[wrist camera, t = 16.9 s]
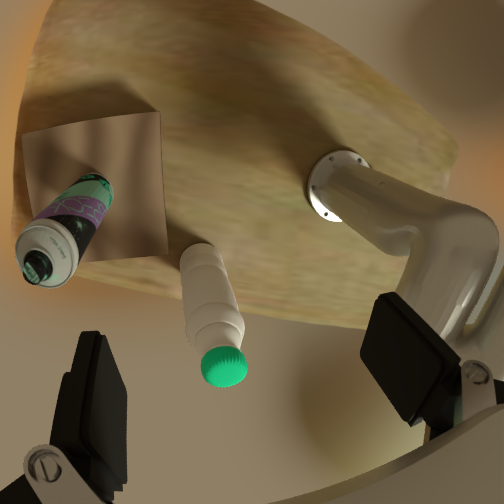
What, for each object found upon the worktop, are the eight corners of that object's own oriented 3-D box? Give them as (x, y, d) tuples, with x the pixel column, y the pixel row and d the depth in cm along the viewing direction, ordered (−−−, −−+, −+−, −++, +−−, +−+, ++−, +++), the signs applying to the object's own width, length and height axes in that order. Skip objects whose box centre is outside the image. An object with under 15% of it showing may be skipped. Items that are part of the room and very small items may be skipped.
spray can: (106, 220, 36) (61, 317, 19) (69, 206, 34) (-1, 292, 17) (120, 180, 34) (72, 253, 17) (81, 166, 32) (3, 226, 15)
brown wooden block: (162, 111, 39) (159, 111, 32) (169, 231, 47) (168, 254, 40) (44, 129, 35) (21, 134, 28) (61, 242, 43) (45, 266, 36)
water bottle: (171, 266, 50) (178, 385, 28) (195, 233, 48) (218, 341, 27) (205, 285, 53) (232, 402, 32) (229, 255, 52) (274, 365, 30)
